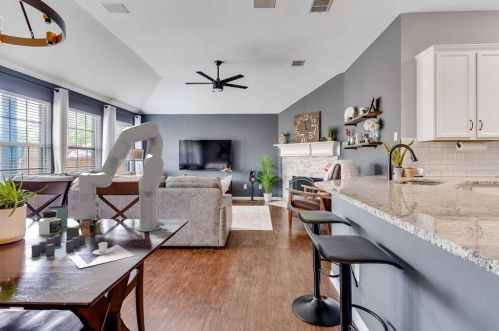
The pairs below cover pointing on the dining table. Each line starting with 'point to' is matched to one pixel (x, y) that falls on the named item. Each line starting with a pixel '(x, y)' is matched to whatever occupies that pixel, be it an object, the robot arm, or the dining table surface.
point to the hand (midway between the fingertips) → (87, 232)
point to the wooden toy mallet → (85, 226)
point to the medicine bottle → (49, 223)
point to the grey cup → (60, 214)
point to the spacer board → (56, 247)
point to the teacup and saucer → (102, 255)
